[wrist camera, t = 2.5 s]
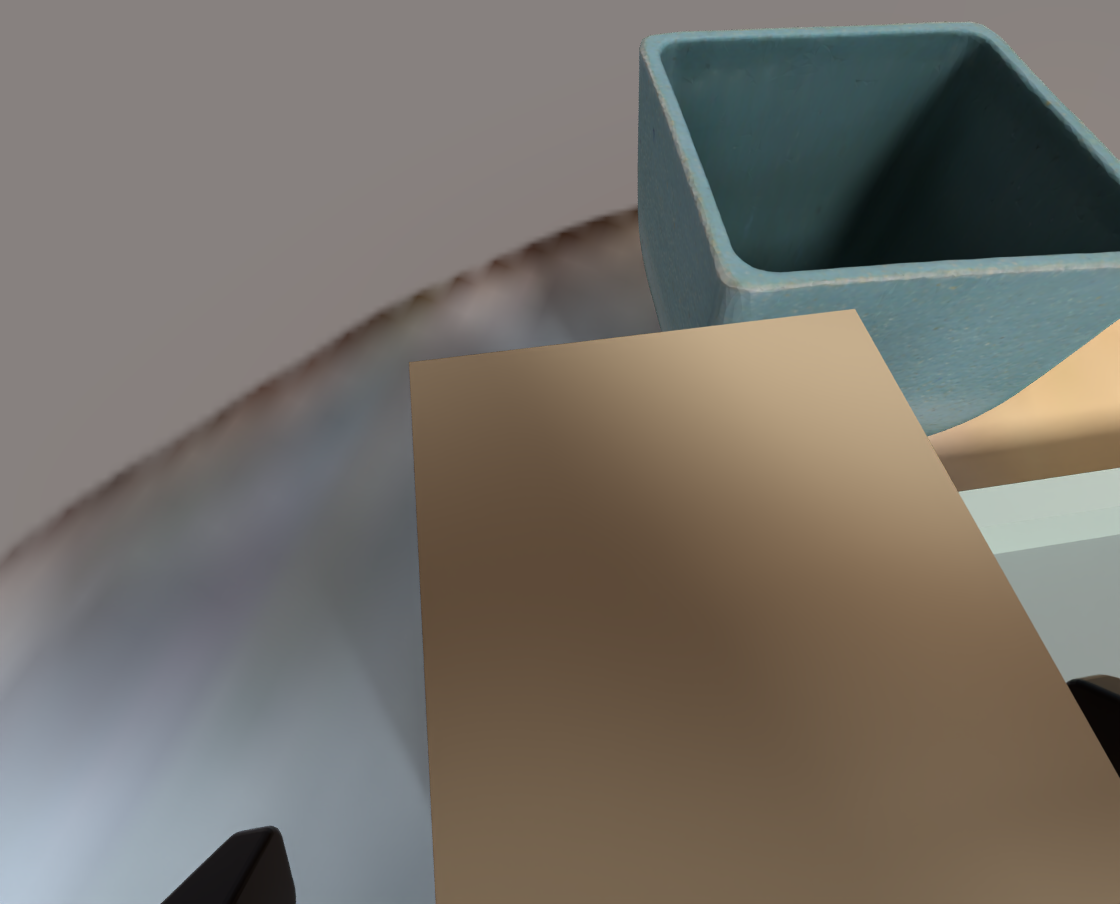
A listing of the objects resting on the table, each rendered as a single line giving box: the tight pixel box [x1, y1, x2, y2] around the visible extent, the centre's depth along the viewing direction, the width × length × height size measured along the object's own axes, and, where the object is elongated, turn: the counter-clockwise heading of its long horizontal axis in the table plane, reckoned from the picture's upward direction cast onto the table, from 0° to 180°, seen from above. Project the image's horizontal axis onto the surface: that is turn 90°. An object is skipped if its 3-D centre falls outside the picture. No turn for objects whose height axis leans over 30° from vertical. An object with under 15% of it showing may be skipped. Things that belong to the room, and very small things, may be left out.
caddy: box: [409, 309, 1120, 904], centre depth 10 cm, size 7×5×11 cm
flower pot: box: [638, 21, 1120, 436], centre depth 17 cm, size 9×9×9 cm
